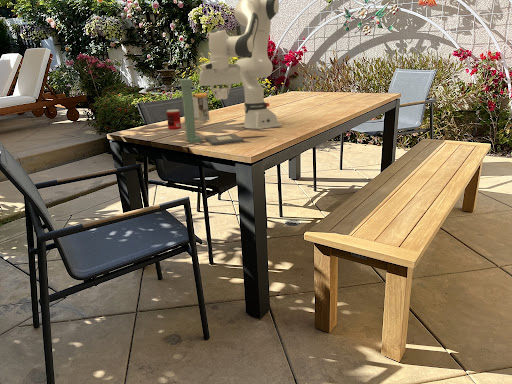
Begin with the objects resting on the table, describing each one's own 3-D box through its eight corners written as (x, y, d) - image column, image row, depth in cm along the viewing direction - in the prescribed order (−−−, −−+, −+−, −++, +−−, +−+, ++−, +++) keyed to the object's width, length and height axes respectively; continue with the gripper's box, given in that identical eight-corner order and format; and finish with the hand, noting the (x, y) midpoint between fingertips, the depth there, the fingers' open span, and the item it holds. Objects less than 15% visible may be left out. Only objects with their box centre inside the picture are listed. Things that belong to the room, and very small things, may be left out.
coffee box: (209, 119, 274) (208, 95, 269) (204, 121, 269) (202, 96, 263) (198, 119, 278) (196, 95, 273) (193, 120, 273) (190, 96, 268)
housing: (224, 97, 204) (224, 83, 202) (227, 98, 199) (226, 84, 197) (215, 98, 202) (214, 84, 200) (217, 99, 198) (216, 84, 196)
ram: (207, 115, 212) (205, 93, 208) (209, 117, 207) (208, 94, 203) (192, 116, 210) (190, 94, 206) (195, 118, 205) (192, 95, 201)
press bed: (235, 137, 217) (235, 133, 216) (243, 142, 204) (243, 138, 204) (206, 140, 212) (205, 136, 211) (212, 145, 199) (211, 142, 199)
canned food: (182, 127, 251) (180, 109, 248) (180, 129, 244) (178, 111, 240) (169, 127, 251) (167, 109, 248) (167, 130, 244) (165, 111, 240)
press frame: (198, 139, 216) (193, 78, 205) (201, 141, 208) (196, 79, 198) (185, 140, 214) (179, 79, 203) (187, 143, 206) (181, 80, 196)
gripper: (238, 63, 202) (239, 92, 206) (197, 65, 196) (199, 95, 200) (241, 64, 196) (243, 93, 200) (199, 65, 190) (202, 96, 194)
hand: (221, 94), depth 200 cm, fingers closed on housing, 5 cm apart
